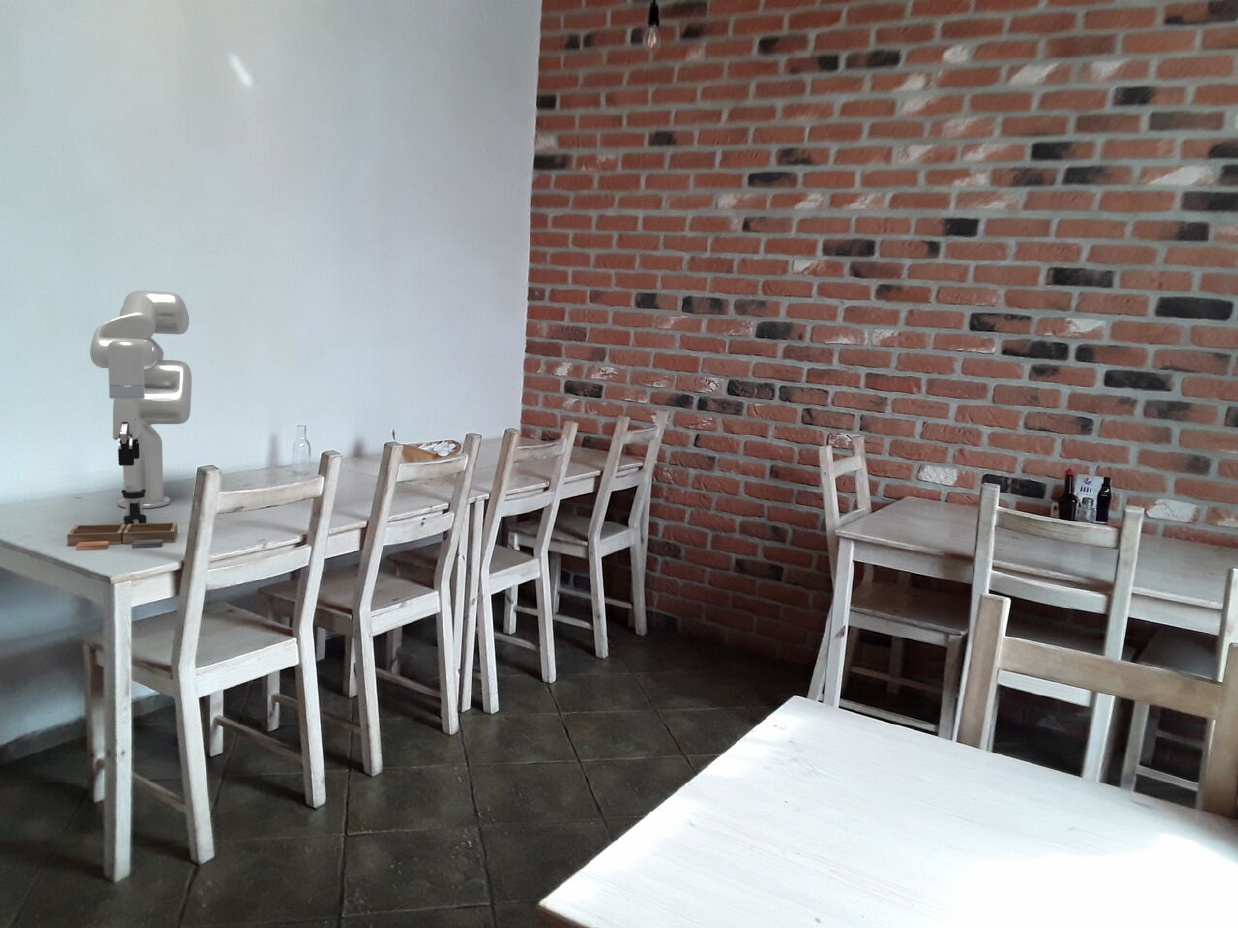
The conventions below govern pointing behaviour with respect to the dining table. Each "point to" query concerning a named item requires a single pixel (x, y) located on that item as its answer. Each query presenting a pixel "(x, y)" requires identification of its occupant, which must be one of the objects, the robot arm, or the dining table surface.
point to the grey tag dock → (149, 534)
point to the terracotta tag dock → (95, 536)
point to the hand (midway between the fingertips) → (129, 461)
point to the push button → (133, 505)
